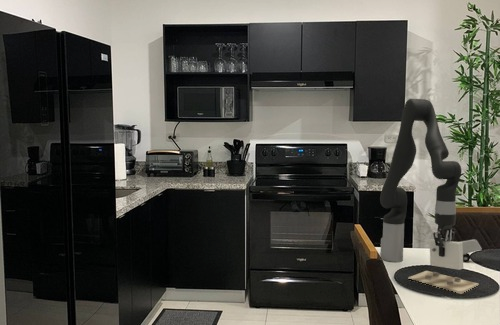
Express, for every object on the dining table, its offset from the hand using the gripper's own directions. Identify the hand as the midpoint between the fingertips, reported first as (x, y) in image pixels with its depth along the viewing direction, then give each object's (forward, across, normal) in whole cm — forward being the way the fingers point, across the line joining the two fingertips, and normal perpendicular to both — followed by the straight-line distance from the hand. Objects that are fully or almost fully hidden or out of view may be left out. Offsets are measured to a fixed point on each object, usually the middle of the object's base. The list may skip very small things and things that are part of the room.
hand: (443, 255), depth 197 cm
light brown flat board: (+11, 0, 0) cm, 11 cm away
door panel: (+4, 0, +1) cm, 4 cm away
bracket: (+9, -34, -16) cm, 39 cm away
